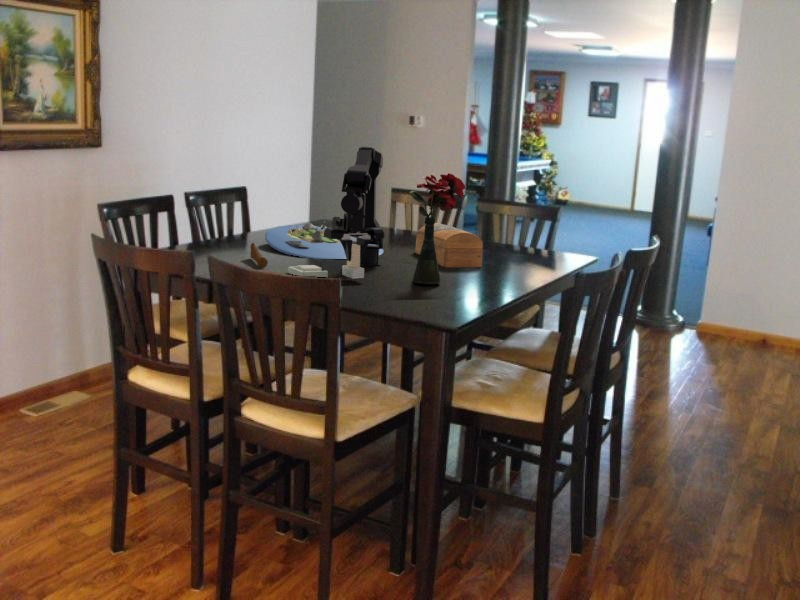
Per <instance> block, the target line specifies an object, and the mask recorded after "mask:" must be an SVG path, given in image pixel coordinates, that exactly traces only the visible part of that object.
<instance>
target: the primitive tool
mask: <svg viewBox="0 0 800 600" xmlns="http://www.w3.org/2000/svg"><path fill="white" fill-rule="evenodd" d="M250 258H251V259H253V260H254V261H255V262H256V264H257V266H258V267H259V268H262V269H265V268H266V267H267V266H268V263H269V262H268V259H267V258H266V257H263V255H262V254H261V253H260V252H259V249H258V248H257V246H256V244H255V243H254V242H251V244H250Z"/></svg>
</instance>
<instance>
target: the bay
mask: <svg viewBox="0 0 800 600" xmlns="http://www.w3.org/2000/svg"><path fill="white" fill-rule="evenodd" d="M328 271H329V270H322V271H306V272H303V271H301V270H298V269H297V266H294V265H293V266H288V267H287V273H288V274H290V275H292V274H293V276H295V275H301V276H316V277H326V278H329V277H328V275H329V272H328Z"/></svg>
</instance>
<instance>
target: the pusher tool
mask: <svg viewBox="0 0 800 600" xmlns="http://www.w3.org/2000/svg"><path fill="white" fill-rule="evenodd" d="M341 268H342V270H341V271H342V273H341V275H342V276H345V277H347V278H349V279H364V278H365V268H364V267H361V265H360V245H358V244H352V249H351V258H350V261H347V260H346V264H345V265H342V267H341Z"/></svg>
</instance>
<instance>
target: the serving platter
mask: <svg viewBox="0 0 800 600" xmlns="http://www.w3.org/2000/svg"><path fill="white" fill-rule="evenodd" d="M323 223H326V221H325V220H323ZM326 228H328V226H324V224H321V225H320V226H318V225H313V224H312V222H309V223H305V224H304V225H299V224H297V225H296V224H294V225H293V224H292V225H281V226H280V225H279V226H275V227H273V228H272V227H271V228H270V229H268V230H267V231H266V232H265V234H264V238H265V239H264V240H265V241H266V243H267V244H268V246H270V247H271V248H273V249H274V250H276V251H278V252H280V253H283V254H285V255H288V256H291V255H293V256H292V257H295V256H299V257H306V258H305V259H309V258H313V259H312V260H320V259H347V258H346V255H345V251H344V248H343V246H342V244H341V242H340V241H339V240H337V239H330V238H326V237H324V231H325V229H326ZM329 228H332V227H331V226H330V227H329ZM350 240H352V244H357V239H356V237H355V236H350ZM368 245H372V244H368ZM384 252H385V251H384V248H383V249H379V256H382V255H383V254H384ZM299 257H298V258H299Z"/></svg>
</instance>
